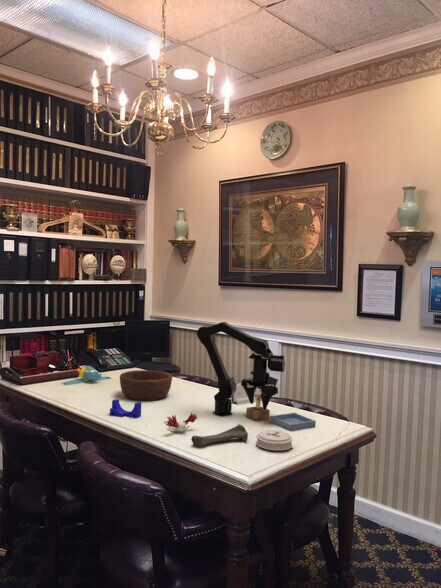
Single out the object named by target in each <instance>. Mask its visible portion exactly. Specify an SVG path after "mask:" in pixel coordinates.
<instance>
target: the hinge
mask: <svg viewBox="0 0 441 588" xmlns="http://www.w3.org/2000/svg"><path fill="white" fill-rule="evenodd" d="M236 384H237V386H236V392H235V393H234V394H233V395H232V396H231V398H230V399H231V403H232V404H233V403H236V405H237V406H239V405H244V404H245V405H246V404H250V401H249V399H248V396H247V394H246V392H245V390H244V388H243V387H244V386H241V382H239V383H236ZM256 394H260V395H261V390H260V389H259V388H256V390H255V393H254V401H253V403H256V398H255V395H256ZM261 402H262V399H261Z"/></svg>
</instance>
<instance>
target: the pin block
mask: <svg viewBox="0 0 441 588" xmlns="http://www.w3.org/2000/svg"><path fill="white" fill-rule="evenodd" d="M270 410H271V409H268V408H266V409H263V406H261V405H260V410H256V406H250V407H246V413H245V414H246V415H245V417H246V418H247V419H249V420H250V421H254V422H255V423H257V422H262V421H267V420H269V421H270V416H271V415H270V414H271V413H270V412H271V411H270Z"/></svg>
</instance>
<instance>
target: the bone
mask: <svg viewBox="0 0 441 588" xmlns="http://www.w3.org/2000/svg"><path fill="white" fill-rule="evenodd" d="M248 436H249V433H248V432H247V429H246V428H245V426H243V425H242V424H237V425H236V426H233V427H231V428H229V429H227V430H225V431H223V432H221V433H220V432H219V433H217V434H213V435H211V434H210V435H204V436H202V435H200V436H199V435H192V437H191V439H190V440H191V442H192V445H193V447H200V448H201V447H203V446H205V445H207V444H210V443H216V442H224V441H229V440H230V441H231V440H233V439H241V440H242V442H243V443H245V442H247V440H248Z"/></svg>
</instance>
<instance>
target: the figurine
mask: <svg viewBox="0 0 441 588" xmlns="http://www.w3.org/2000/svg"><path fill="white" fill-rule="evenodd" d="M166 418H167V420H168V421H167V420H164V421H163V424H165V425H166V426H168V430H169V432H173V433H174V432H176V431H178V432H179V433H181V432H182V433H184V431H185V432H188V429H189V427H190V424H189V423H194V422H195V421H196V420H197V419H198V416H197V414H195V413H193V412H192V411H190V415H189V416H188V418H187V419H185V420H182V421H178V420H177V415H176V414H174V415H171V416H166ZM177 421H178V422H177Z"/></svg>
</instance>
